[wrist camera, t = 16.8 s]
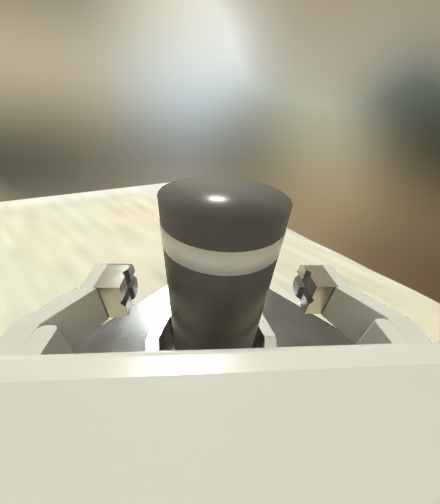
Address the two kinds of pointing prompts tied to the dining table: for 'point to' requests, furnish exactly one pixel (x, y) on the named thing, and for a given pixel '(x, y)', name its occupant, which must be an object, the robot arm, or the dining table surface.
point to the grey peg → (219, 257)
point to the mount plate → (161, 332)
